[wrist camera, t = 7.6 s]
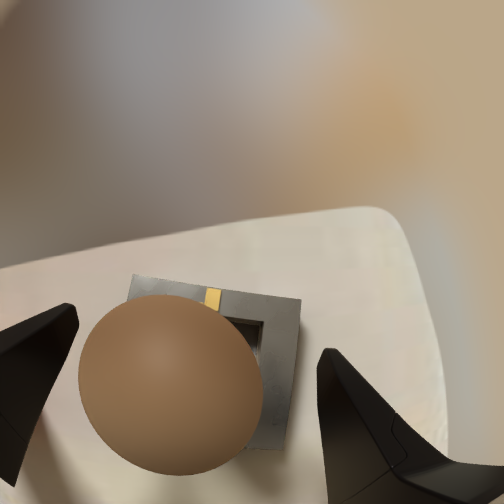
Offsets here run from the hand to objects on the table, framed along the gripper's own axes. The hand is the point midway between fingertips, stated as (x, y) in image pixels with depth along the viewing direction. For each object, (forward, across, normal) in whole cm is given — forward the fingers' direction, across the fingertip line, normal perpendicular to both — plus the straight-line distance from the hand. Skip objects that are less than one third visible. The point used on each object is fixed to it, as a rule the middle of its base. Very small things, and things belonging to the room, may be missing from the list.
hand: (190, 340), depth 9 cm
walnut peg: (+5, 0, +7) cm, 9 cm away
